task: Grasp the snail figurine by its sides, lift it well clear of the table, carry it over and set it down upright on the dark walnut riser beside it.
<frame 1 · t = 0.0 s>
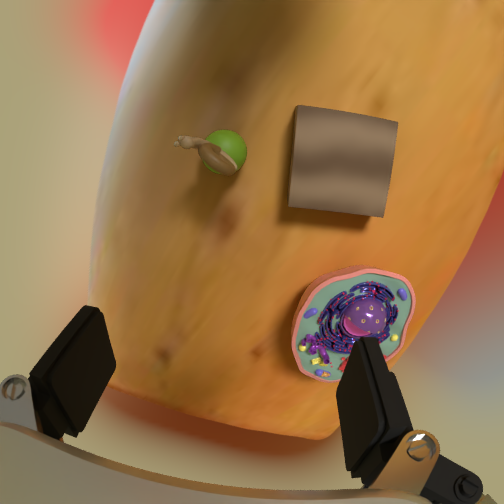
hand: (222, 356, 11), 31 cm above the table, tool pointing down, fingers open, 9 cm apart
walnut riser: (338, 158, 37), on the table
cell model: (343, 300, 46), on the table
snail figurine: (224, 147, 38), on the table
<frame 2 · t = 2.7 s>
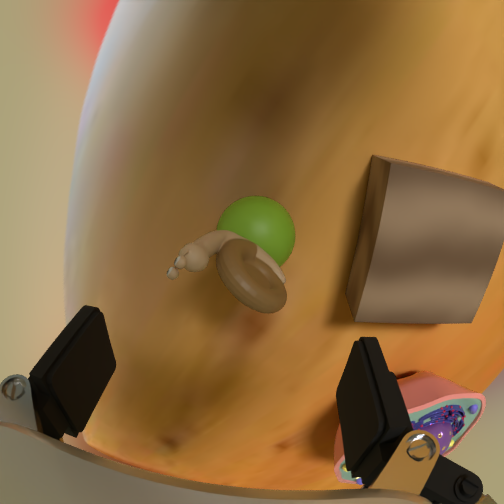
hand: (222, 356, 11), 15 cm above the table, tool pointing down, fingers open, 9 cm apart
walnut riser: (423, 237, 23), on the table
cell model: (393, 396, 32), on the table
snail figurine: (252, 217, 24), on the table
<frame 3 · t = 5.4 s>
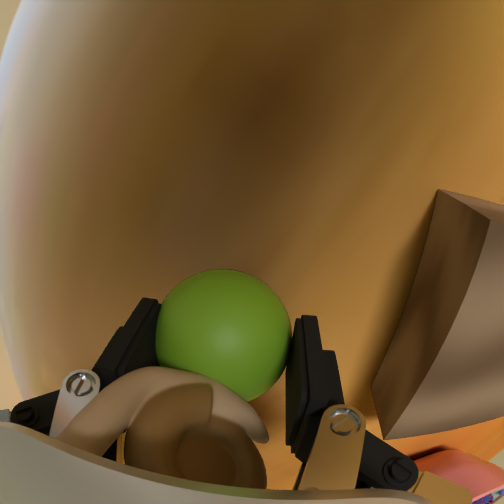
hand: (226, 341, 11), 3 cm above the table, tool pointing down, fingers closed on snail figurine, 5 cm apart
walnut riser: (486, 309, 14), on the table
cell model: (410, 468, 22), on the table
snail figurine: (223, 292, 14), on the table, touching gripper
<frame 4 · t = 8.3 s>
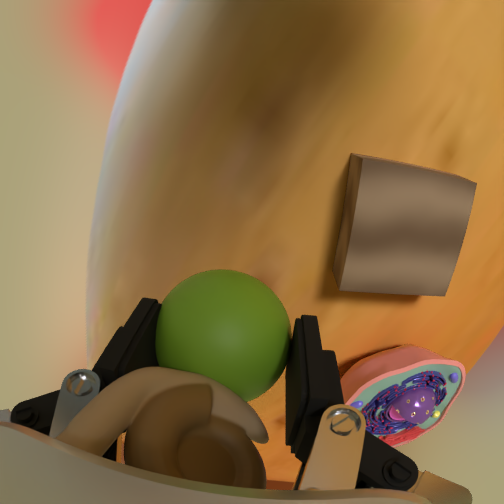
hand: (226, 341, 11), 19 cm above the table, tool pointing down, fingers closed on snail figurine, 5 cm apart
walnut riser: (397, 221, 28), on the table
cell model: (381, 371, 37), on the table
snail figurine: (223, 292, 14), point 16 cm above the table, touching gripper
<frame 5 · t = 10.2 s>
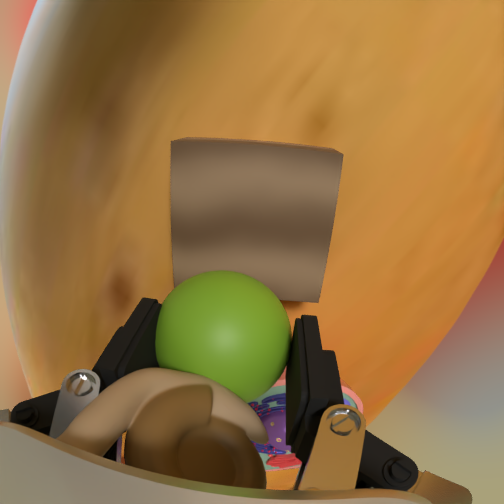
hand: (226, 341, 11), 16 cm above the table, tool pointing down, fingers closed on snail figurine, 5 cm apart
walnut riser: (253, 211, 26), on the table
cell model: (278, 382, 35), on the table
snail figurine: (223, 293, 14), point 13 cm above the table, touching gripper
when the fingers open (9 cm above the table, at t = 11.8 s): snail figurine drops 2 cm, resting on walnut riser.
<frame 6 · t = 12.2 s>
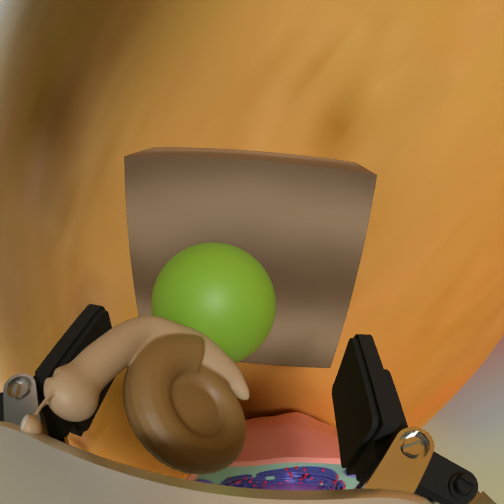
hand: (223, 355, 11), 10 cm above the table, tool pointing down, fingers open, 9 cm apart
walnut riser: (246, 247, 19), on the table
cell model: (278, 432, 28), on the table
snail figurine: (216, 266, 16), point 4 cm above the table, touching walnut riser
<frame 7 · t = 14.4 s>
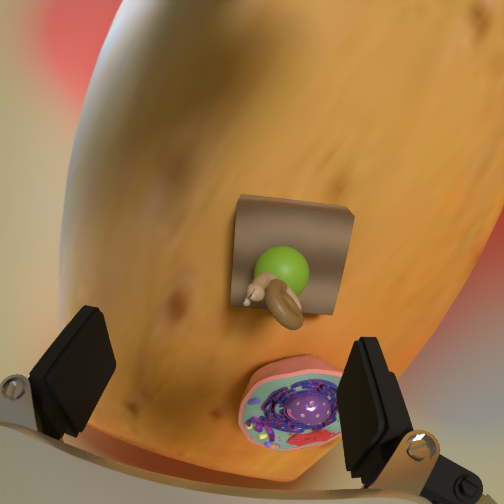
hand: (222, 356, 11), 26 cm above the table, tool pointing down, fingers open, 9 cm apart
walnut riser: (288, 249, 36), on the table
cell model: (296, 377, 45), on the table
snail figurine: (278, 258, 33), point 4 cm above the table, touching walnut riser
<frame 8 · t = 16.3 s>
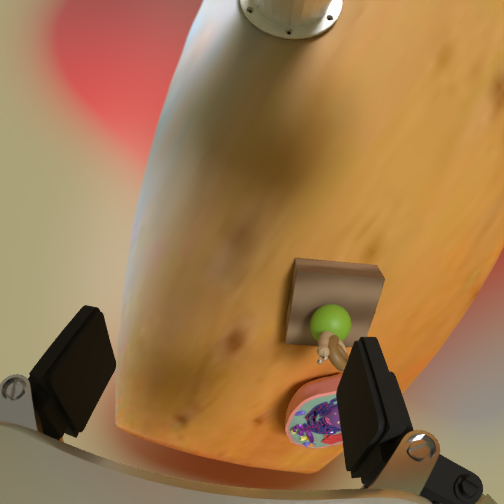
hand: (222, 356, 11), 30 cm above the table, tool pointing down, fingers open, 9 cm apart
walnut riser: (329, 297, 44), on the table
cell model: (328, 389, 53), on the table
snail figurine: (325, 309, 41), point 4 cm above the table, touching walnut riser
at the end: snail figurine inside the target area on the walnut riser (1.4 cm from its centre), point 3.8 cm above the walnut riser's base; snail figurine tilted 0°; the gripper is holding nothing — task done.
